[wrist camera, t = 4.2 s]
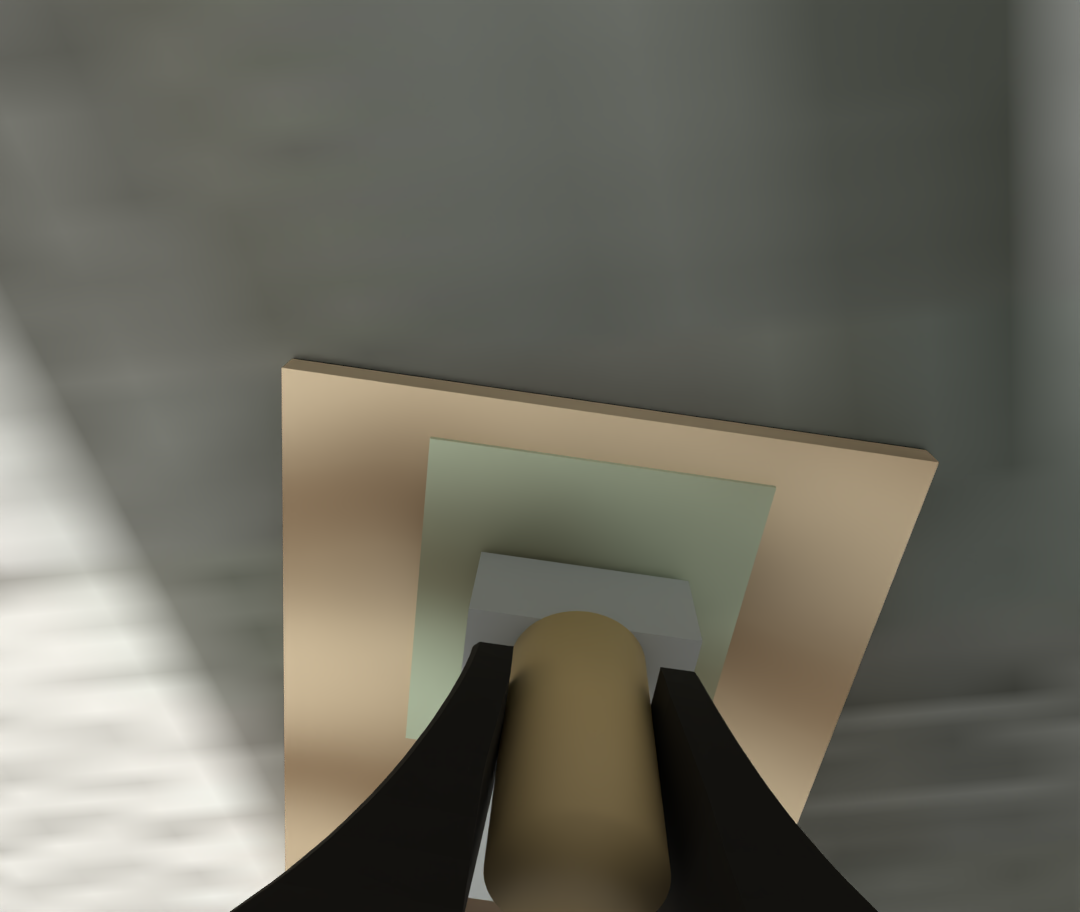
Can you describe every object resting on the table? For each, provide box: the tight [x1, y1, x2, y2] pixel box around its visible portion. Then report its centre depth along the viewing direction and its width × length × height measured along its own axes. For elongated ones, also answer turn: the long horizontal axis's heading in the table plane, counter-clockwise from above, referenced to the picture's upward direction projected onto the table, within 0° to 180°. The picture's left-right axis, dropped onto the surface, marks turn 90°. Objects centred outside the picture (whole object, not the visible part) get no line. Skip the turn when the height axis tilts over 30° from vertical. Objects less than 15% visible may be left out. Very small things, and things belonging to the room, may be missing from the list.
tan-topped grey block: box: [461, 552, 702, 912], centre depth 15 cm, size 8×4×6 cm, turn 173°
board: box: [282, 359, 939, 912], centre depth 20 cm, size 23×13×1 cm, turn 172°
